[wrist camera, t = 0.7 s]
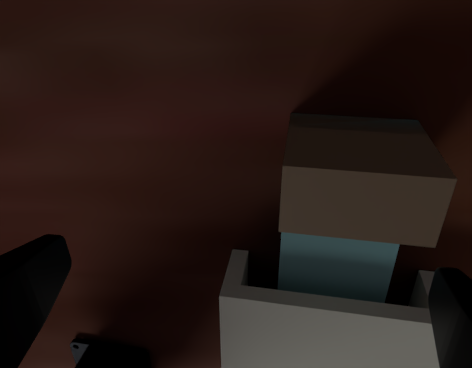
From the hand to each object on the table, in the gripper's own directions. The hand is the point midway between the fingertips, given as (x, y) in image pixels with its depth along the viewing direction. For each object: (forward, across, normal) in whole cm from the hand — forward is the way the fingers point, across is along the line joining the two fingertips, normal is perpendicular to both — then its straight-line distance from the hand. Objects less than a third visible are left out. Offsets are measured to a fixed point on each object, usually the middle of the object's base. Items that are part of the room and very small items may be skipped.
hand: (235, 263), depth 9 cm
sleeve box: (+12, -3, +14) cm, 19 cm away
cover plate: (+12, -3, +8) cm, 15 cm away
